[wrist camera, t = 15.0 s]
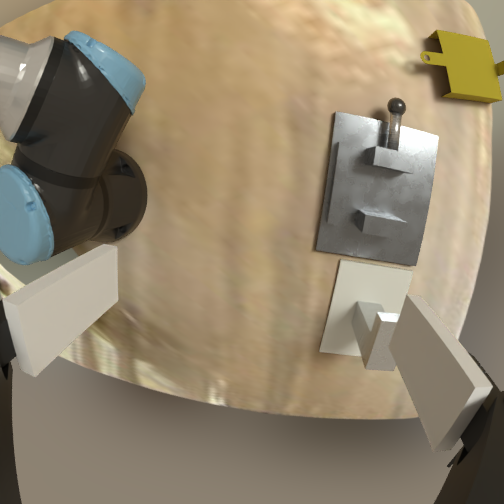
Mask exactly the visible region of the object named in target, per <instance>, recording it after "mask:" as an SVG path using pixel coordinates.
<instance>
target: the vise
mask: <svg viewBox="0 0 504 504" xmlns="http://www.w3.org/2000/svg"><path fill="white" fill-rule="evenodd" d="M387 107H388V110H389V112H390V123H388V122H384V121H380V120H376V119H371V118H367V117H362V116H357V115H352V114H347V113H342V112H335V118H334V126H333V135H332V143H331V151H330V158H329V166H328V173H327V180H326V187H325V194H324V200H323V207H322V213H321V219H320V225H319V231H318V237H317V243H316V250H318V251H324V252H331V253H337V254H344V255H350V256H356V257H362V258H369V259H375V260H381V261H387V262H394V263H400V264H406V265H412V266H416V264H417V260H418V256H419V252H420V247H421V243H422V239H423V234H424V229H425V224H426V219H427V214H428V209H429V203H430V198H431V192H432V185H433V179H434V172H435V164H436V156H437V147H438V137H439V136H436V135H432V134H429V133H426V132H422V131H419V130H415V129H412V128H408V127H404V126H401V119H402V115H403V114H404V113H405V111H406V105H405V103H404V102H403V100H401V99H399V98H392V99H391V100H389V102H388V105H387Z"/></svg>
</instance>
